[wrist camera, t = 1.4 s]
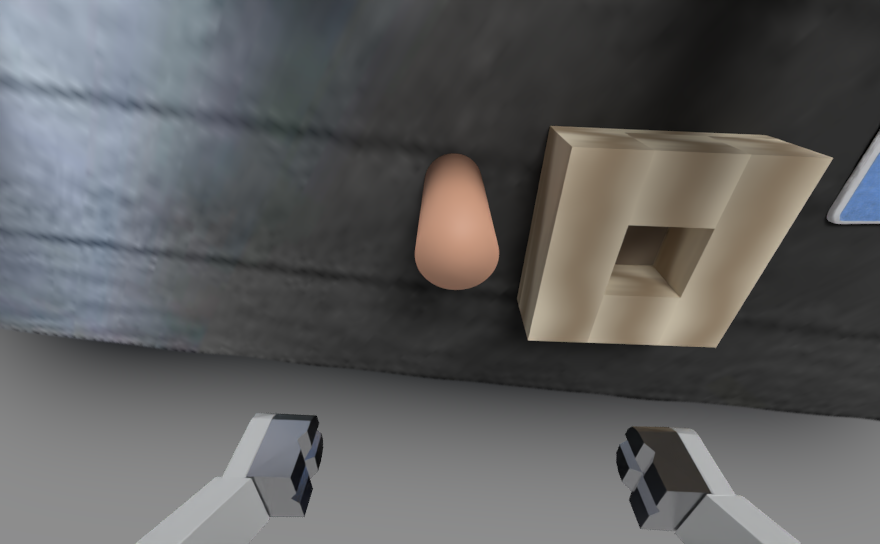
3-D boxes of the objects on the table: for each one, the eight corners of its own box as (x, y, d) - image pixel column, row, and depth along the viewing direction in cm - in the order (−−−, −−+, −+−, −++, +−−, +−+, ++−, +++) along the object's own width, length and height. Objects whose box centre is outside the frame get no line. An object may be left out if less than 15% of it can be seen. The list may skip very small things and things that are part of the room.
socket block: (516, 298, 32) (527, 340, 27) (550, 125, 24) (572, 147, 20) (680, 305, 32) (716, 347, 28) (765, 135, 24) (833, 157, 20)
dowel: (424, 207, 27) (414, 288, 19) (425, 152, 25) (414, 215, 17) (479, 209, 27) (493, 291, 19) (484, 154, 25) (504, 219, 17)
